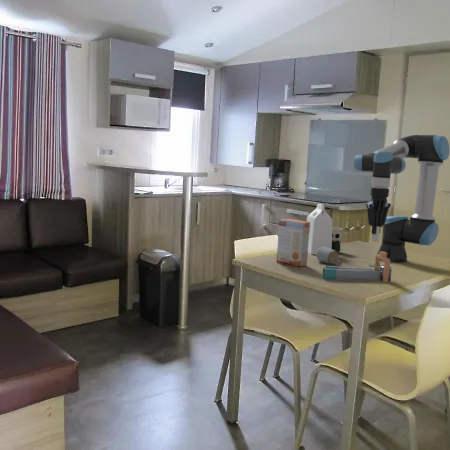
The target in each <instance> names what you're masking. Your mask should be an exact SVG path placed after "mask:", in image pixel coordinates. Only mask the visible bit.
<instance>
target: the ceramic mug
mask: <svg viewBox="0 0 450 450" xmlns="http://www.w3.org/2000/svg"><path fill="white" fill-rule="evenodd" d="M316 259H317V260H318V262H320V263H323V264H327V265H330V266H333V265H335V264H336V263H337V264H339V263H340V259H339V252H336V251H335V250H332V249H330V248H327V247H321V248H320V249H319V250H318V253H317V255H316Z"/></svg>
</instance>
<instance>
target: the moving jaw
mask: <svg viewBox="0 0 450 450" xmlns="http://www.w3.org/2000/svg"><path fill="white" fill-rule="evenodd" d="M374 267H375V268H379V269H380V268H381V269H384V265H381V264H380V265H375V264H373V263H369V264H368V267H357V266H355V267H352V266H338V265H325V268H335V269H362V270H374ZM391 269H392V266H390V267H389V270H391Z"/></svg>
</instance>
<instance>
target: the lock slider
mask: <svg viewBox="0 0 450 450" xmlns="http://www.w3.org/2000/svg"><path fill="white" fill-rule="evenodd" d="M374 256H375V258H374V265H380V266H381V261H382V260H383V262H384V265H383V266H384V273H383V281H382V283H388V276H389V267H391V266H390V265H391V262H390V259H388V258H386V257H387V253H386V252H379V254H377V253H376V254H375V255H374ZM380 259H381V260H380ZM373 270H380V268H375V267H373Z"/></svg>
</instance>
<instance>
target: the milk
mask: <svg viewBox="0 0 450 450" xmlns="http://www.w3.org/2000/svg"><path fill="white" fill-rule="evenodd" d="M305 222H310V231H309V243H308V254H309V253H310V254H309V255H311V254H315V255H316V256H317V253H318V250H319V249H320V248H321V247H327V248H330V249H331V248H332V227H333V219H332V217H331V216H330V215H329V214H328V213H327V212H326V210H325V205H324V204H321V203H317V205H316V208H315V209H314V210H313V211H311V213H309V214H308V215H307V217H306V221H305Z"/></svg>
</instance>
